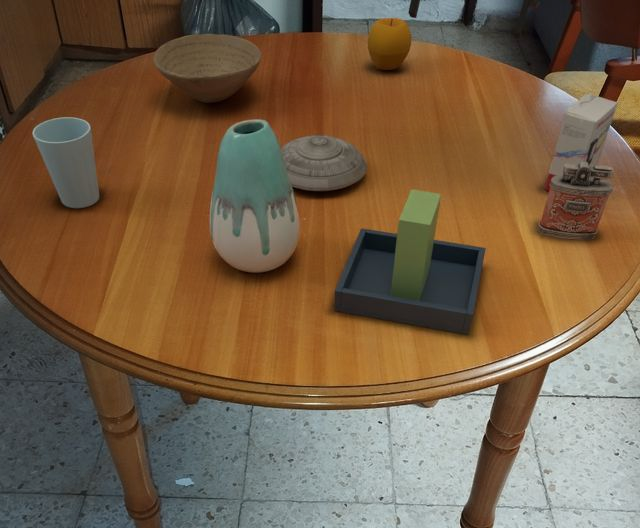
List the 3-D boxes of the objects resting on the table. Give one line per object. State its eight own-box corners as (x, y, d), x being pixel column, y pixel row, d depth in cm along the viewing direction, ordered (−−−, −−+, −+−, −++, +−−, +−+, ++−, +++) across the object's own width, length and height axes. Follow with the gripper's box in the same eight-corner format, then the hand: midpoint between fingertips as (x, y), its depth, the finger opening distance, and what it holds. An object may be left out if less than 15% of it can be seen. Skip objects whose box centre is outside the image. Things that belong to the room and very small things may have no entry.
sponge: (429, 271, 88) (441, 193, 80) (418, 303, 84) (430, 225, 75) (402, 266, 89) (411, 189, 80) (390, 298, 84) (398, 219, 76)
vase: (197, 252, 91) (178, 119, 78) (268, 224, 96) (261, 94, 83) (244, 295, 85) (232, 159, 72) (317, 262, 90) (318, 129, 77)
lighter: (537, 235, 95) (557, 168, 87) (537, 222, 97) (555, 155, 90) (596, 241, 94) (621, 174, 87) (594, 228, 96) (618, 161, 89)
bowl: (223, 130, 115) (218, 81, 109) (139, 106, 121) (130, 58, 115) (281, 91, 126) (280, 45, 120) (201, 71, 132) (196, 25, 126)
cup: (104, 182, 103) (87, 113, 96) (110, 208, 99) (92, 138, 91) (53, 189, 102) (31, 120, 94) (56, 216, 97) (33, 146, 89)
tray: (481, 267, 90) (485, 247, 87) (468, 335, 81) (473, 314, 78) (359, 247, 92) (360, 228, 90) (334, 310, 83) (334, 290, 81)
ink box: (572, 200, 101) (597, 121, 93) (542, 189, 103) (563, 111, 94) (594, 177, 106) (620, 100, 97) (565, 167, 108) (587, 91, 99)
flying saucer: (289, 145, 112) (288, 111, 108) (377, 159, 109) (379, 125, 105) (256, 189, 103) (254, 154, 98) (351, 206, 100) (353, 171, 95)
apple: (387, 81, 130) (391, 30, 123) (356, 67, 134) (358, 18, 127) (417, 69, 134) (422, 19, 127) (386, 56, 138) (390, 8, 131)
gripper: (620, -153, 79) (559, 49, 87) (414, -183, 83) (374, 13, 91) (632, -183, 72) (565, 38, 81) (407, -215, 76) (364, 0, 84)
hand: (464, 25), depth 86 cm, fingers open, 13 cm apart
